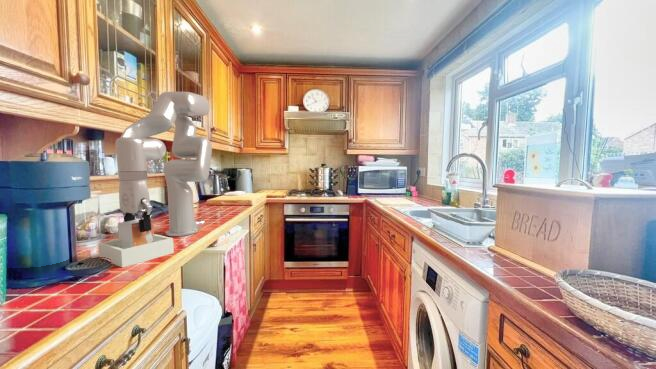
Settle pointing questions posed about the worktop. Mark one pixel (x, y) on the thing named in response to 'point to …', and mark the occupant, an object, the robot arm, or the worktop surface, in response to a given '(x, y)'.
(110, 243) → the storage bin
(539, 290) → the worktop surface
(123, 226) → the small box
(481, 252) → the worktop surface
